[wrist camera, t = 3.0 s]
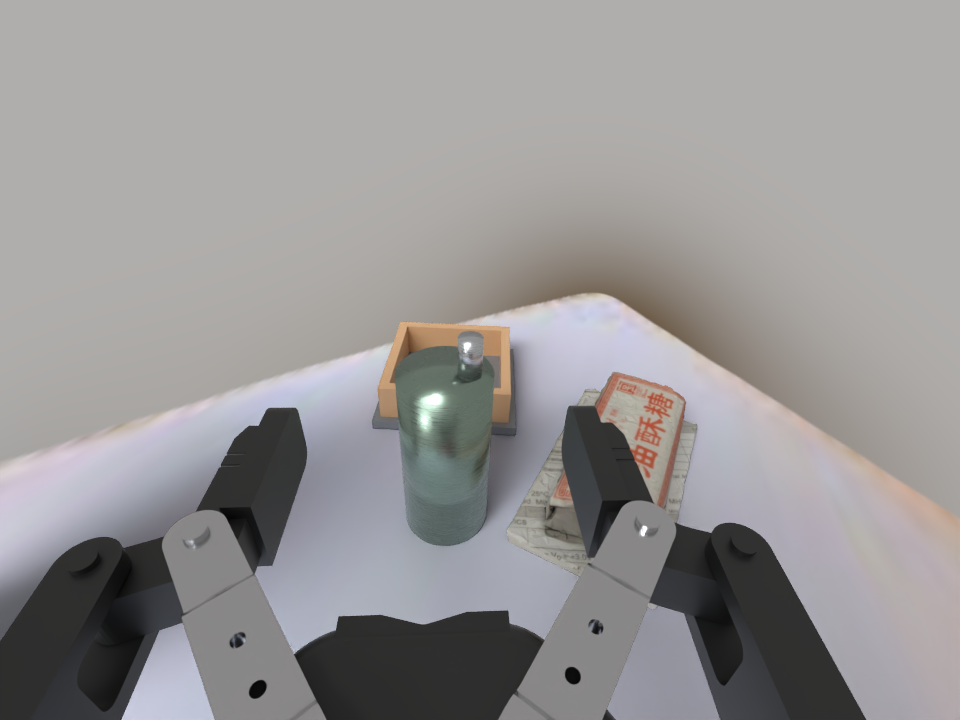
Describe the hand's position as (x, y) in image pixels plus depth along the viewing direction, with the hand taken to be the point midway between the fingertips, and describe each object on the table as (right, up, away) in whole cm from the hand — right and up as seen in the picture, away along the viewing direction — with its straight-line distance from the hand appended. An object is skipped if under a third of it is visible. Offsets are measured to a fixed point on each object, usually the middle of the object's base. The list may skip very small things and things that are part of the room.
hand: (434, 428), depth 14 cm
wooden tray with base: (-1, -1, +31) cm, 31 cm away
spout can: (-1, -9, +19) cm, 21 cm away
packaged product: (+11, -8, +23) cm, 26 cm away
